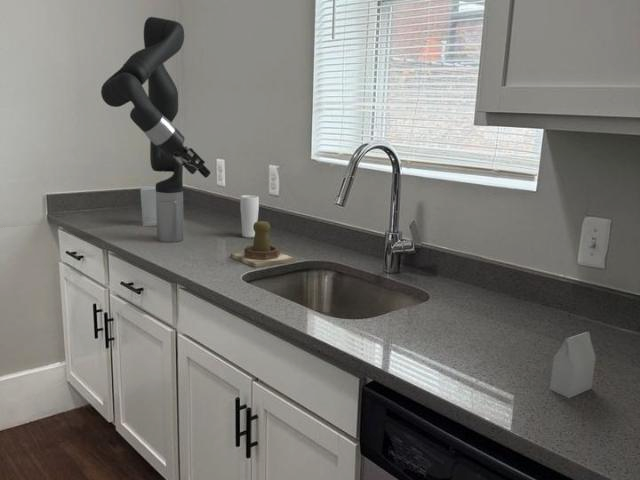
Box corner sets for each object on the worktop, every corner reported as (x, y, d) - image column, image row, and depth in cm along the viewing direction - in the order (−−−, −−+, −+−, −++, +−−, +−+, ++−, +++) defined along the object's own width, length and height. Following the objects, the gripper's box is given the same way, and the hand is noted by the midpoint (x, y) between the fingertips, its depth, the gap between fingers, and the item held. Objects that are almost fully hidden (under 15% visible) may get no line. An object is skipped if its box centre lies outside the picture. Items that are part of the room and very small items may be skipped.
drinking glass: (236, 237, 213) (236, 196, 210) (245, 233, 219) (246, 194, 216) (253, 239, 211) (253, 198, 207) (261, 235, 217) (262, 196, 213)
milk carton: (591, 388, 102) (598, 335, 100) (569, 398, 98) (576, 343, 96) (571, 380, 105) (579, 328, 103) (549, 389, 101) (556, 335, 99)
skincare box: (164, 223, 234) (163, 186, 230) (163, 226, 228) (162, 188, 225) (142, 223, 232) (141, 186, 229) (141, 226, 226) (140, 188, 223)
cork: (268, 259, 178) (268, 224, 176) (249, 257, 179) (249, 222, 177) (273, 254, 184) (273, 220, 182) (254, 253, 185) (255, 219, 183)
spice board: (230, 257, 184) (230, 246, 183) (267, 251, 193) (268, 241, 192) (255, 267, 173) (255, 256, 172) (294, 261, 181) (294, 250, 180)
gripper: (183, 126, 158) (221, 167, 168) (161, 123, 169) (198, 161, 178) (165, 146, 156) (204, 186, 166) (144, 142, 167) (182, 179, 176)
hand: (201, 173), depth 172 cm, fingers open, 8 cm apart
